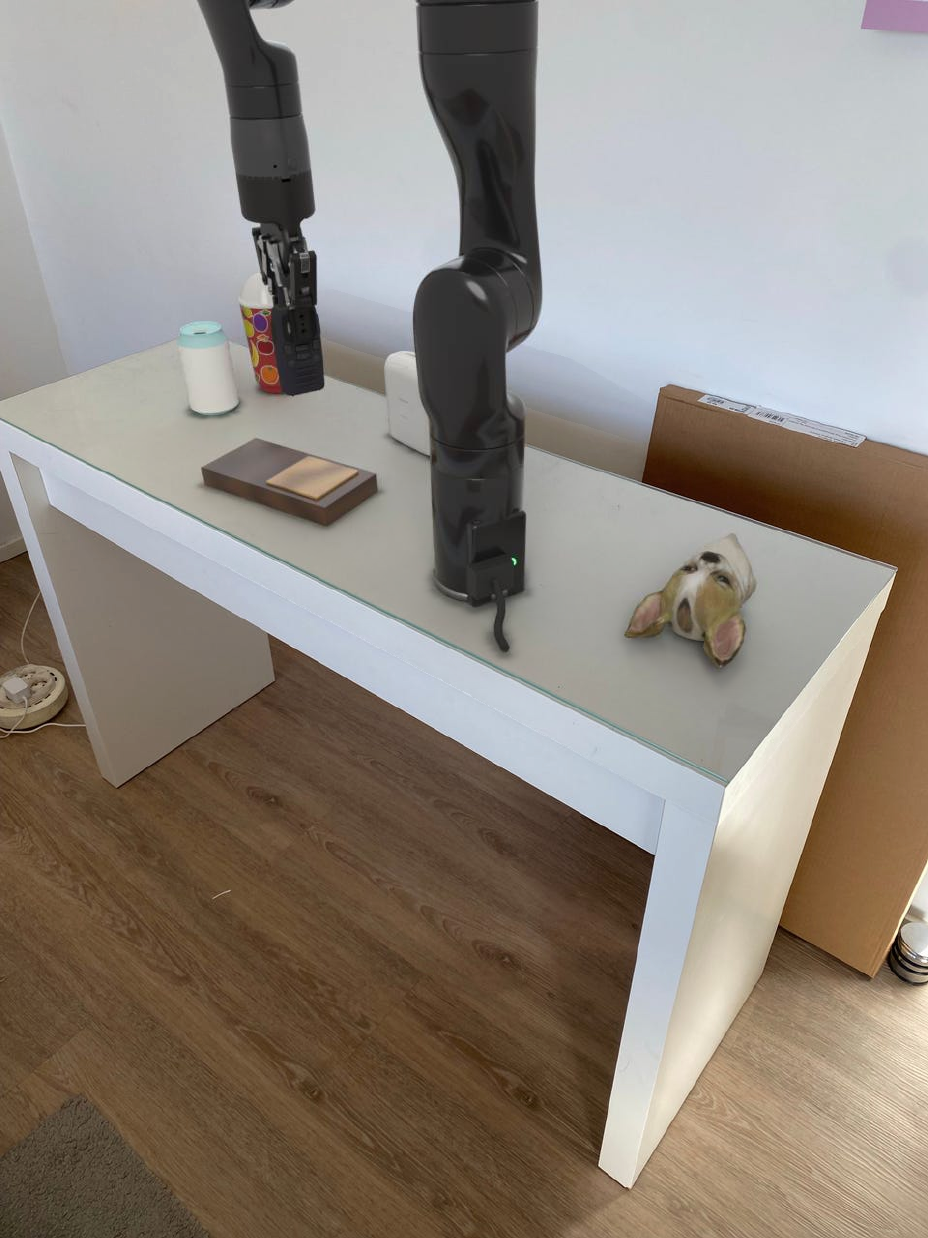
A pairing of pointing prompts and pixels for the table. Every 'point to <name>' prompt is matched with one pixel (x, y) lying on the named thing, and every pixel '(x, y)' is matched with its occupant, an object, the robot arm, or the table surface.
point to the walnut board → (290, 480)
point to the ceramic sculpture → (702, 601)
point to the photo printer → (405, 402)
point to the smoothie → (259, 331)
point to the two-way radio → (296, 352)
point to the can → (207, 368)
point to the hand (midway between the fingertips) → (294, 334)
